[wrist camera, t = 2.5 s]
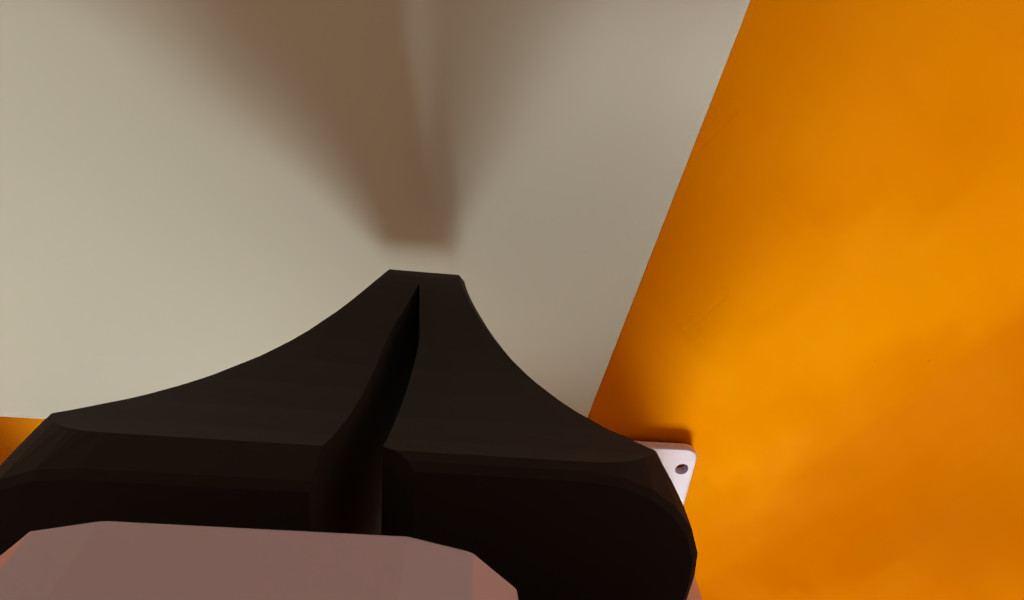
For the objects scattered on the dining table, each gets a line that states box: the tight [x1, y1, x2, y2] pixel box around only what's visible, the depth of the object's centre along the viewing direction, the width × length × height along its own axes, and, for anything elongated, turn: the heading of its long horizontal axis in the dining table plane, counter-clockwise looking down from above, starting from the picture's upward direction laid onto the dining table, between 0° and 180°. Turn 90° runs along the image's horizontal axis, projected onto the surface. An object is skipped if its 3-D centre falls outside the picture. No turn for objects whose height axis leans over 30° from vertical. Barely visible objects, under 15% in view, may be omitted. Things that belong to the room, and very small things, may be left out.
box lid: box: [0, 0, 750, 419], centre depth 12 cm, size 17×18×1 cm
